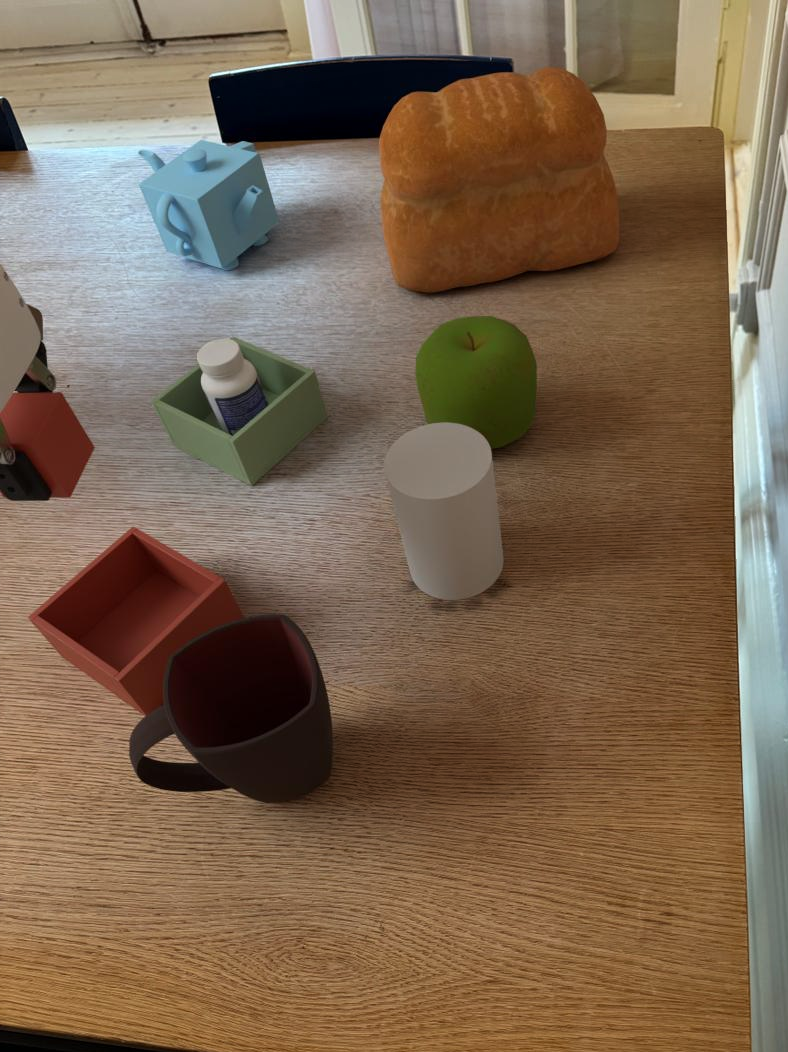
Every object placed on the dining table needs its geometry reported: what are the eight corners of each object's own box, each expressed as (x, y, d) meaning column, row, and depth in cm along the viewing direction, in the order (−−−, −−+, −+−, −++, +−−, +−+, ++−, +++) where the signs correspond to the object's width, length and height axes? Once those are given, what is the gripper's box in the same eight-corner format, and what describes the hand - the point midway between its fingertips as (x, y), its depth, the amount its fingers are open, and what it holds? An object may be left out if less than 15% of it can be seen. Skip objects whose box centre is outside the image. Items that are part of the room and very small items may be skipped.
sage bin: (172, 445, 88) (150, 401, 83) (250, 381, 93) (233, 336, 88) (251, 486, 84) (232, 442, 79) (329, 416, 88) (315, 371, 84)
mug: (373, 794, 64) (335, 711, 54) (188, 871, 62) (114, 799, 52) (334, 689, 69) (293, 596, 60) (163, 756, 67) (92, 671, 58)
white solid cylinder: (518, 541, 76) (509, 436, 67) (479, 611, 72) (463, 510, 63) (435, 517, 79) (414, 413, 69) (393, 584, 75) (364, 483, 65)
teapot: (238, 298, 102) (204, 202, 92) (129, 263, 108) (86, 170, 99) (321, 227, 109) (296, 132, 100) (213, 198, 115) (181, 106, 106)
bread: (628, 263, 98) (636, 97, 84) (398, 307, 98) (367, 148, 84) (593, 192, 107) (595, 32, 93) (382, 232, 107) (352, 77, 93)
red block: (3, 498, 61) (-38, 443, 57) (31, 447, 64) (-7, 392, 60) (70, 498, 61) (33, 443, 57) (95, 447, 63) (61, 391, 59)
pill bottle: (285, 419, 88) (258, 343, 80) (249, 451, 85) (219, 377, 78) (246, 402, 90) (217, 327, 83) (211, 434, 88) (177, 359, 80)
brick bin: (61, 656, 74) (27, 617, 69) (159, 568, 79) (133, 525, 74) (149, 719, 70) (118, 681, 65) (247, 621, 74) (225, 579, 70)
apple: (464, 484, 81) (449, 389, 72) (405, 423, 87) (384, 327, 78) (562, 431, 84) (559, 333, 75) (498, 375, 89) (489, 278, 81)
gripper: (-111, 143, 53) (43, 389, 67) (-276, 319, 43) (-55, 560, 58) (5, 137, 51) (135, 387, 66) (-138, 315, 42) (51, 561, 57)
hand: (45, 465), depth 62 cm, fingers closed on red block, 5 cm apart
